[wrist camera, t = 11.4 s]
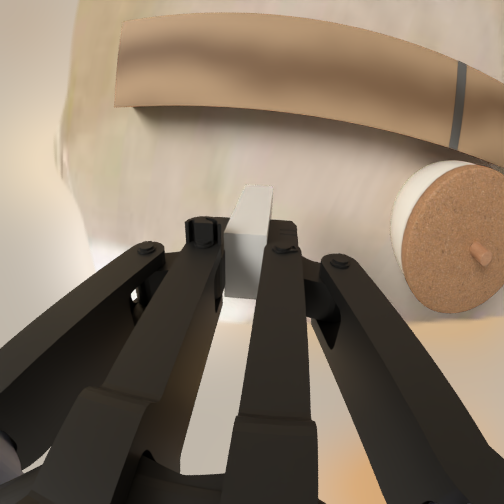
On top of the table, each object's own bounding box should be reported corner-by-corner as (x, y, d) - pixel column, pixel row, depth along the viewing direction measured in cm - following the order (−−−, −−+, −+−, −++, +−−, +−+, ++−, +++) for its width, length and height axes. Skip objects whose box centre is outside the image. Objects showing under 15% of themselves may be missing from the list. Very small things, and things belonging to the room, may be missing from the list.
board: (139, 29, 19) (121, 21, 16) (502, 93, 17) (522, 94, 14) (132, 106, 22) (113, 107, 19) (493, 164, 20) (512, 171, 18)
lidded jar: (383, 137, 21) (439, 155, 13) (485, 163, 20) (553, 193, 12) (362, 260, 26) (393, 328, 17) (458, 269, 25) (505, 326, 17)
